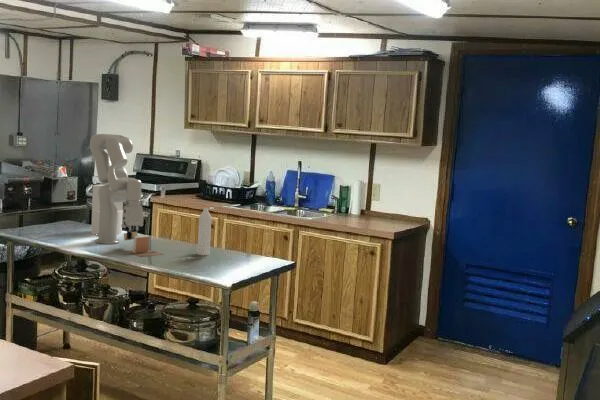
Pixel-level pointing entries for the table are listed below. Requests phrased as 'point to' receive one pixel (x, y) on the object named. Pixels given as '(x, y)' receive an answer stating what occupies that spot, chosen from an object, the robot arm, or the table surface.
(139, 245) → the tile
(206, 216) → the water bottle
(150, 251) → the board
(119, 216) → the cylinder
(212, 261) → the table surface
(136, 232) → the turner
